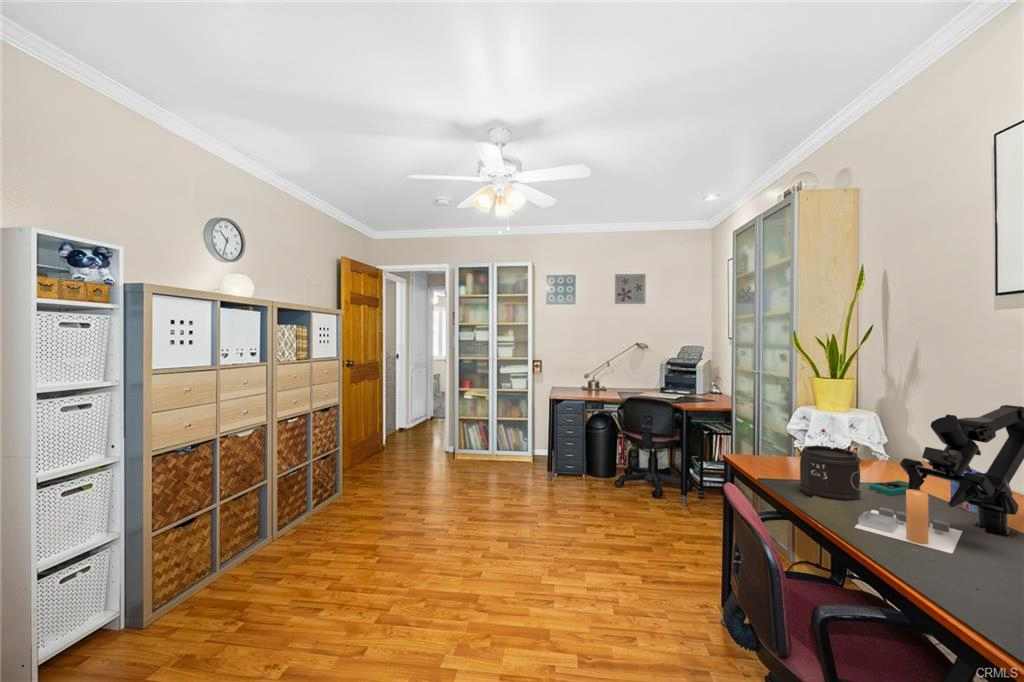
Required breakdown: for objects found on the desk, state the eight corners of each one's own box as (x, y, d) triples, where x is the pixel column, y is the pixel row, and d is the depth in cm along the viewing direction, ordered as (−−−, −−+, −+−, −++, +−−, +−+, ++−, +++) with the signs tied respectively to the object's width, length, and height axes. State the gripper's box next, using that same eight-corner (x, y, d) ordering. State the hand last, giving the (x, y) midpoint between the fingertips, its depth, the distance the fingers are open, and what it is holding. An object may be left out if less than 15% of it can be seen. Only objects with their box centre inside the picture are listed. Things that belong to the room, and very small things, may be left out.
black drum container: (853, 490, 160) (852, 447, 159) (869, 507, 143) (868, 459, 143) (795, 483, 167) (794, 442, 167) (804, 499, 151) (803, 454, 151)
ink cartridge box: (948, 501, 148) (948, 459, 147) (969, 503, 146) (968, 460, 146) (970, 513, 138) (970, 467, 138) (992, 514, 137) (992, 468, 136)
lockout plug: (908, 534, 121) (907, 488, 121) (929, 540, 117) (929, 492, 117) (904, 539, 118) (904, 491, 118) (926, 545, 114) (926, 496, 114)
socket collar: (865, 517, 132) (865, 511, 132) (898, 525, 126) (898, 518, 126) (858, 524, 128) (858, 517, 128) (892, 533, 122) (892, 526, 122)
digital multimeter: (867, 490, 160) (867, 482, 160) (899, 487, 163) (899, 479, 163) (888, 497, 153) (888, 489, 153) (921, 493, 156) (921, 485, 156)
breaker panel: (872, 513, 138) (872, 503, 138) (962, 535, 123) (962, 523, 123) (854, 531, 126) (854, 520, 126) (952, 558, 110) (952, 545, 110)
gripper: (904, 430, 129) (876, 470, 126) (987, 445, 111) (958, 492, 108) (922, 454, 131) (896, 495, 128) (1007, 473, 113) (979, 520, 110)
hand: (929, 499), depth 119 cm, fingers open, 9 cm apart
